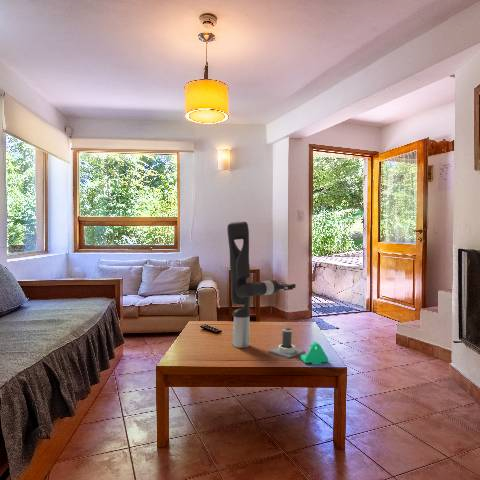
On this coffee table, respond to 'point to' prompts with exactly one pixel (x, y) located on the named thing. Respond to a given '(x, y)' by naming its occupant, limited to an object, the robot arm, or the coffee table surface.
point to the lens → (286, 337)
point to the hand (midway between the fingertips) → (289, 285)
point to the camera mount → (315, 355)
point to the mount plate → (297, 352)
